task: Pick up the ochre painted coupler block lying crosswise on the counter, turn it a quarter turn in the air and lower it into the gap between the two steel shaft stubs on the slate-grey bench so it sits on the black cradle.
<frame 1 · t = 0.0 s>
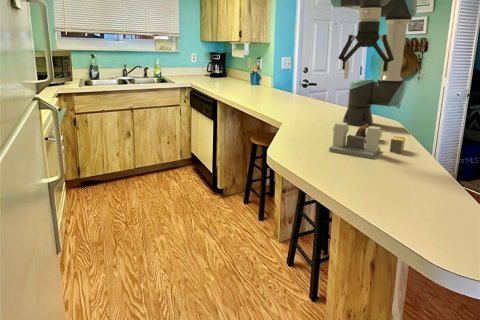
hand: (363, 79, 142), 28 cm above the table, fingers open, 13 cm apart
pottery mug: (365, 140, 164), on the table
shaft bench: (354, 151, 147), on the table
coupler: (396, 150, 148), on the table
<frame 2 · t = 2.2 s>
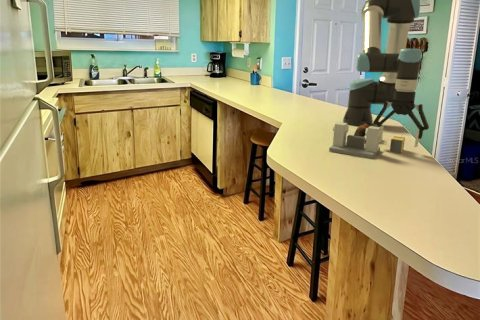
hand: (397, 144, 147), 3 cm above the table, fingers open, 13 cm apart
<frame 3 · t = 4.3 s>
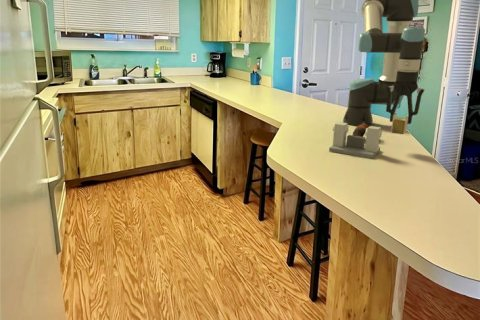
hand: (399, 130, 146), 8 cm above the table, fingers closed on coupler, 4 cm apart
coupler: (398, 131, 146), point 8 cm above the table, touching gripper
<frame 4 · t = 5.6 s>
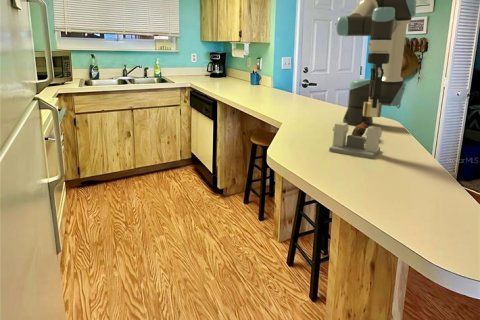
hand: (371, 114, 143), 15 cm above the table, fingers closed on coupler, 4 cm apart
coupler: (371, 115, 143), point 14 cm above the table, touching gripper
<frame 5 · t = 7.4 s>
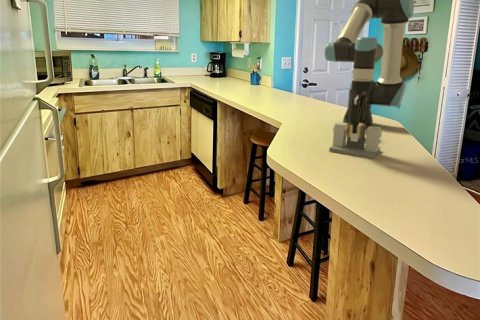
hand: (355, 139, 146), 5 cm above the table, fingers closed on coupler, 4 cm apart
coupler: (355, 136, 145), point 6 cm above the table, touching gripper, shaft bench
when the fingers open (5 cm above the table, at t = 7.6 s): coupler stays where it is, resting on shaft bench.
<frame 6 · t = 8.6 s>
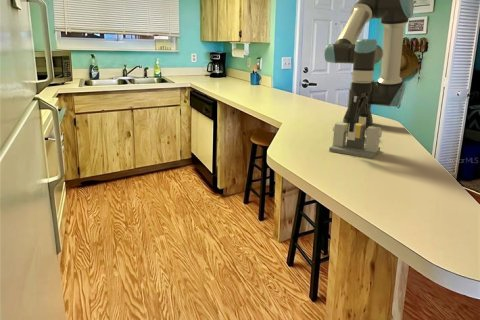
hand: (356, 136, 145), 6 cm above the table, fingers open, 13 cm apart
coupler: (355, 136, 145), point 6 cm above the table, touching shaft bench
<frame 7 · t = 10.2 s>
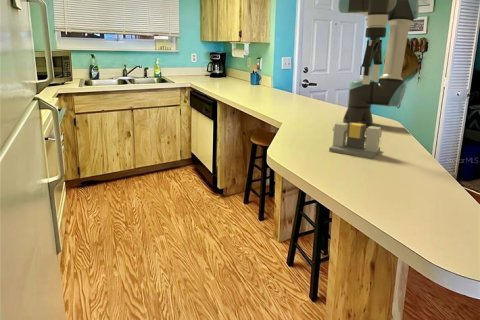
hand: (370, 82, 149), 26 cm above the table, fingers open, 13 cm apart
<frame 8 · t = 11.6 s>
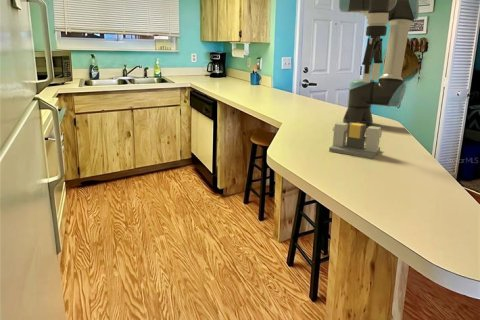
hand: (370, 80, 149), 27 cm above the table, fingers open, 13 cm apart
at the end: coupler 0.2 cm off-centre on the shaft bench, point 6.0 cm above the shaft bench's base; coupler tilted 0°; the gripper is holding nothing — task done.
